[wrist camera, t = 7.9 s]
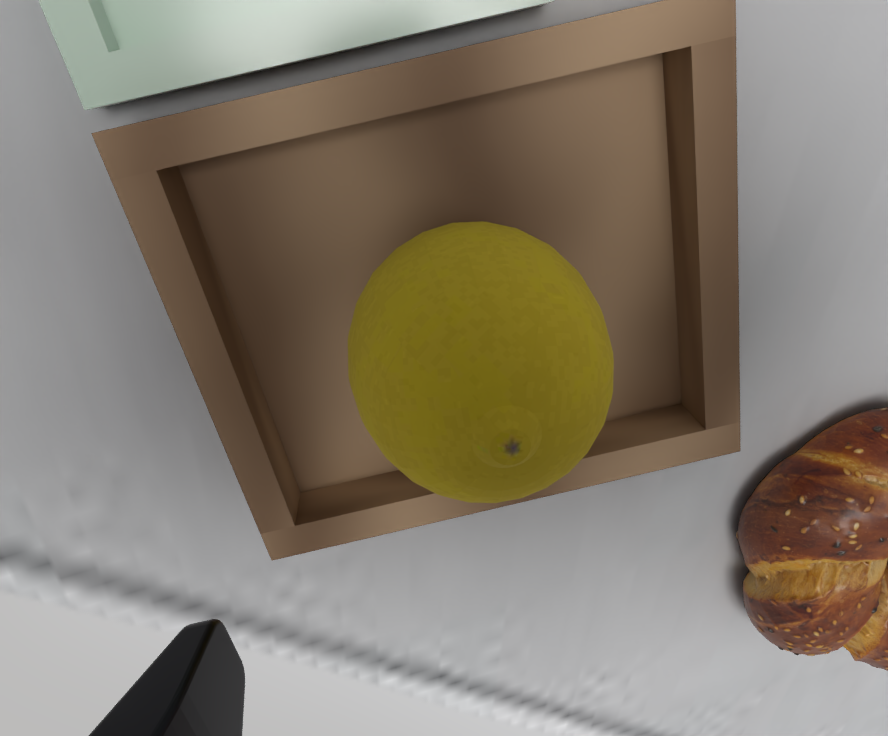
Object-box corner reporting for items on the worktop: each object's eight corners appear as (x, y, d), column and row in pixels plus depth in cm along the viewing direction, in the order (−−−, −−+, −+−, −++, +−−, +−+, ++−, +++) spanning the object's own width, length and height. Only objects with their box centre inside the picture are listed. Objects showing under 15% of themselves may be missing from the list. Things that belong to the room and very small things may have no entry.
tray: (283, 505, 21) (271, 560, 19) (132, 123, 16) (91, 133, 14) (699, 408, 21) (740, 450, 19) (682, -4, 16) (735, -17, 14)
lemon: (562, 369, 19) (678, 550, 12) (374, 404, 19) (375, 609, 12) (545, 176, 17) (678, 253, 9) (332, 214, 17) (299, 320, 9)
